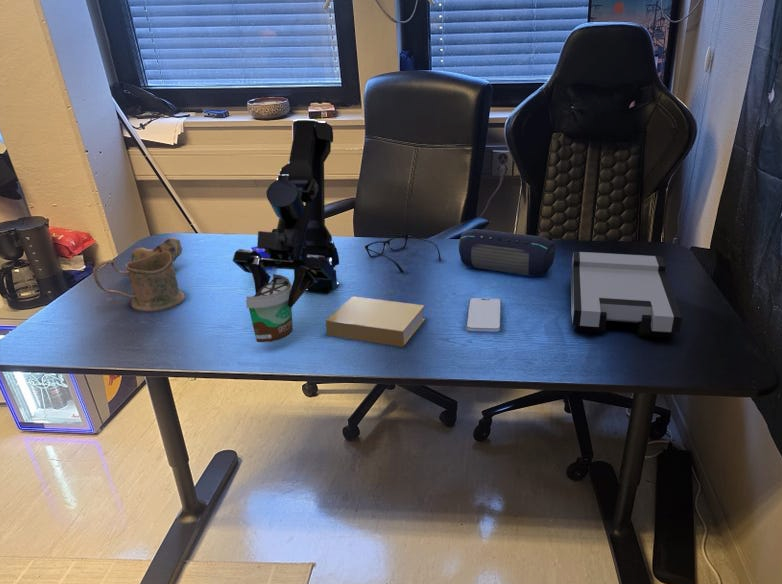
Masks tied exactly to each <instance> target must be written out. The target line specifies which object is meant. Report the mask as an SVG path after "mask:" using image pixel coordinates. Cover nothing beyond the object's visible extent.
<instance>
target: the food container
mask: <svg viewBox="0 0 782 584" xmlns="http://www.w3.org/2000/svg"><path fill="white" fill-rule="evenodd" d="M292 285H293V283H292V282H291V280H289V278H287V276H284V275H282V274H276V273H273V274H272V279H271V281H269V283H268V284H267V285H265V286H263V287H261V288H260V289H259V291H258V292H257V293H256V292H255V294H254V295H253V296H248V295H247V296H245V297H246V300H245V304H246V308H247V309H248V311H249V315H250V319H251V323H252V327H253V332H254V336H255V340H256V343H271V342H277V341H280V340H283V339H285V338H287V337H288V336H290V335H291V334H292V332H293V330H294V329H293V328H294V327H293V310H292V309H293V306H292V307H289V306H288V300H289V296H290V292H291V288H292Z"/></svg>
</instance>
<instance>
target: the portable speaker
mask: <svg viewBox="0 0 782 584" xmlns="http://www.w3.org/2000/svg"><path fill="white" fill-rule="evenodd" d="M555 245H556V244H555V243H554V242H553V241H551V239H548V238H546V237H543V236H539V235H531V234H529V235H528V234H522V233H515V232H514V233H513V232H506V231H505V232H504V231H495V230H489V229H481V228H473V229H472V228H471V229H466V230H464V231H462V233H461V234H460V238H459V242H458V253H459V257H460V261H461V263H462V264H464V265H465V266H466V267H468V268H473V269H481V270H487V271H496V272H502V273H507V274H508V273H509V274H516V275H524V276H531V277H541V276H545V275H547V273H548V272H549V270H550V269H551V267H552V266H553V264H554V261H555V256H556V246H555Z"/></svg>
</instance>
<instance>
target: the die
mask: <svg viewBox="0 0 782 584" xmlns="http://www.w3.org/2000/svg"><path fill="white" fill-rule="evenodd" d="M250 250H255V251H256V252H257V253H258V254H259V255H260V256H261V257H268V258H270V255H269V254H266V253H265V252H264V251H265V249H262V248H260V249H258V248H257V246H252V247H250ZM272 269H274V268H268V267H267V270H272Z"/></svg>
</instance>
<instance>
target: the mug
mask: <svg viewBox="0 0 782 584" xmlns="http://www.w3.org/2000/svg"><path fill="white" fill-rule="evenodd" d="M108 264H111V266H112V268H113V269H114V271H115V272H117V273H119V274H121V275H126V274H127V276H128V280H129V282H130V283H129V284H130V286H131V290H132V294H127V293H125V292H122V291H120V290H115V289H106V288H104V287H103V286H102V285H101V283H100V281H99V278H98V274H97V271H98V269H99V268H101V267H102V266H105V265H108ZM125 268H126V270H123V271H122V270H119V269H118V268H117V266H116V263H115V261H114V259H108V260H104V261H100V262H99V263H97V264H96V265H94V266H93V268H92V274H93V278H94V281H95V283H96V284H97V286H98V287H99V289H101V290H103V292H106V293H111V294H119V295H122V296H125V297H127V298H132V300H131V302H130V305H131V307H132V308H133V309H134V310H136V311H141V312H157V311H163V310H168V309H170V308H174V307H177V306H178V305H180V304H181V303H183V302H184V301H185V299H186V296H185V293H184V292H182V291H181V290H180V288H179V284H178V280H177V276H176V272H175V265H174V262H172V257H171V254H170V253H169V252H167V251H166V252H161V253H157V254H153V255H151V256H148V257H146V258H143V259H140V260H137V261H136V260H133V262H131V261H130V262H127V263H126V264H125Z"/></svg>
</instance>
